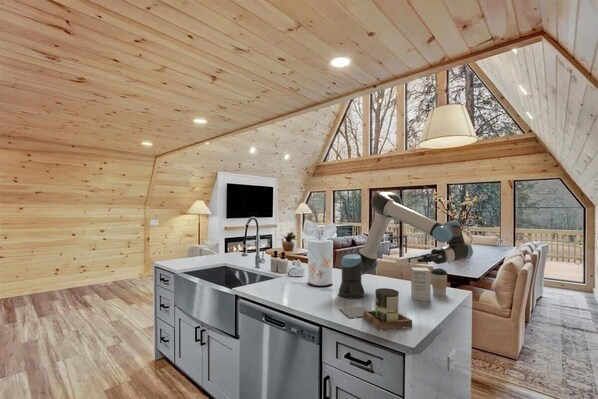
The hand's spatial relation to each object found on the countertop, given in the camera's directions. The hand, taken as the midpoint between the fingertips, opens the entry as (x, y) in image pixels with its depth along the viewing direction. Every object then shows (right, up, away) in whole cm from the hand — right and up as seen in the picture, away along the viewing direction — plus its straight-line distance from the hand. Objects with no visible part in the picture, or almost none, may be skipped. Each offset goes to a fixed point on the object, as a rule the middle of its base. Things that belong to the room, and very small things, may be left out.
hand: (403, 262), depth 146 cm
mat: (-22, -26, +4) cm, 34 cm away
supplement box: (+20, -27, +29) cm, 44 cm away
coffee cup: (+34, -27, +37) cm, 57 cm away
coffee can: (-10, -26, -8) cm, 29 cm away
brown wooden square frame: (-10, -25, -8) cm, 29 cm away
